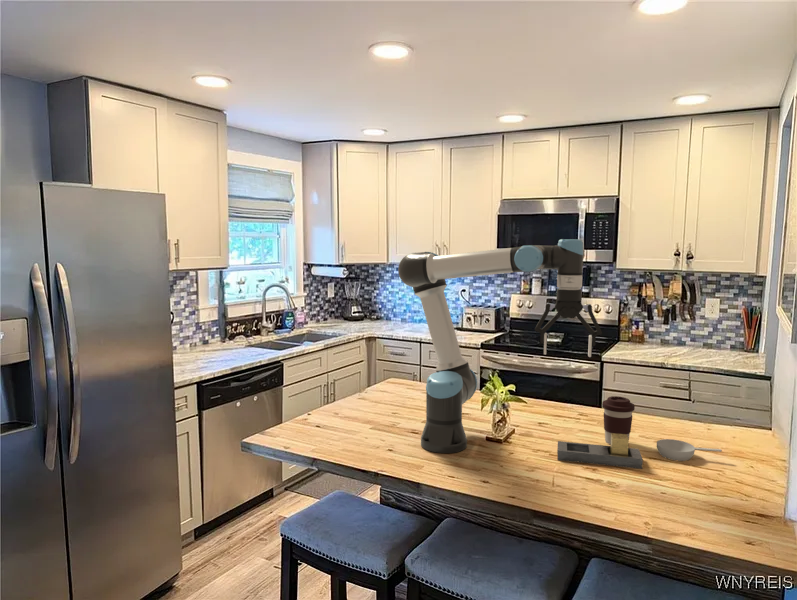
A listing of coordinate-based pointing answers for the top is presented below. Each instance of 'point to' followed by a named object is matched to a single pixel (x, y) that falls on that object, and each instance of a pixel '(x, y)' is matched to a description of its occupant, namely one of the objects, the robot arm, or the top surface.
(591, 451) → the gray slotted rack
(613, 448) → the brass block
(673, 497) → the top surface
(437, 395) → the robot arm
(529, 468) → the top surface
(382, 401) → the top surface
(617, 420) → the coffee cup
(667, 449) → the small pan
